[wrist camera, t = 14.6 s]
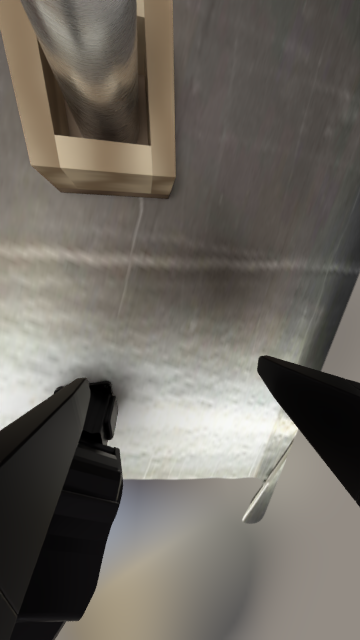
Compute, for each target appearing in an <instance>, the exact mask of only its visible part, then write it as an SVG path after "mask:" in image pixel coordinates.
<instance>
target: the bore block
mask: <svg viewBox="0 0 360 640" xmlns="http://www.w3.org/2000/svg"><path fill="white" fill-rule="evenodd" d="M0 29H1V33H2V38H3V42H4V47H5V51H6V56H7V60H8V65H9V69H10V74H11V78H12V83H13V87H14V91H15V96H16V100H17V105H18V109H19V114H20V118H21V123H22V127H23V132H24V136H25V141H26V145H27V150H28V154H29V159H30V163H31V166H32V167H33V168H35V169H36V170H37V171H38V172H39V173H40V174H41V175H42V176H43V177H45V178H46V179H47V180H48V181H49V182H50V183H51V184H52V185H53V186H55V187H56V188H57V189H58V190H59V191H60V192H65V193H82V194H98V195H115V196H132V197H148V198H165V199H168V197H169V195H170V192H171V189H172V186H173V183H174V181H175V178H176V170H175V113H174V57H173V0H137V51H138V110H139V135H138V140H137V143H136V144H129V143H121V142H112V141H103V140H95V139H86V138H83V137H82V135H81V133H80V131H79V129H78V127H77V124H76V122H75V120H74V118H73V116H72V113H71V111H70V109H69V107H68V105H67V102H66V100H65V98H64V96H63V94H62V91H61V89H60V87H59V85H58V83H57V80H56V78H55V76H54V74H53V72H52V69H51V67H50V65H49V63H48V61H47V58H46V56H45V54H44V52H43V50H42V47H41V45H40V43H39V41H38V39H37V36H36V34H35V32H34V30H33V28H32V25H31V23H30V21H29V19H28V17H27V14H26V12H25V10H24V8H23V6H22V3H21V1H20V0H0Z"/></svg>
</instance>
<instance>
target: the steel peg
mask: <svg viewBox="0 0 360 640" xmlns="http://www.w3.org/2000/svg"><path fill="white" fill-rule="evenodd" d="M20 1H21V3H22V6H23V8H24V10H25V12H26V14H27V17H28V19H29V21H30V23H31V25H32V28H33V30H34V32H35V34H36V36H37V39H38V41H39V43H40V45H41V47H42V50H43V52H44V54H45V56H46V58H47V61H48V63H49V65H50V67H51V69H52V72H53V74H54V76H55V78H56V80H57V83H58V85H59V87H60V89H61V91H62V94H63V96H64V98H65V100H66V102H67V105H68V107H69V109H70V111H71V113H72V116H73V118H74V120H75V122H76V124H77V127H78V129H79V131H80V133H81V135H82V137H83V138H86V139H95V140H103V141H112V142H121V143H129V144H136V143H137V140H138V135H139V110H138V51H137V0H20Z"/></svg>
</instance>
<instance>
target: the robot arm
mask: <svg viewBox="0 0 360 640" xmlns="http://www.w3.org/2000/svg"><path fill="white" fill-rule="evenodd" d="M257 371H258V374H259V375H260V377H261V378H262V380H263V381H264V383H265V384H266V386H267V388H268V389H269V391H270V392H271V394H272V395H273V397H274V398H275V399H276V401H277V402H278V403H279V405H280V406H281V407H282V408H283V410H284V411H285V412H286V413H287V415H288V416H289V417H290V419H291V420H292V421H293V422H294V424H295V425H296V426H297V427H298V429H299V430H300V431H301V433H302V434H303V435H304V436H305V437H306V439H307V440H308V441H309V443H310V444H311V445H312V446H313V448H314V449H315V450H316V452H317V453H318V454H319V456H320V457H321V458H322V459H323V461H324V462H325V463H326V464H327V466H328V467H329V468H330V469H331V471H332V472H333V473H334V474H335V476H336V477H337V478H338V480H339V481H340V482H341V484H342V485H343V486H344V487H345V489H346V490H347V491H348V492H349V494H350V495H351V496H352V498H353V499H354V500H355V501H356V503H357V504H358V505H359V506H360V383H358V382H355V381H351V380H347V379H344V378H341V377H338V376H334V375H331V374H328V373H324V372H321V371H318V370H314V369H311V368H308V367H304V366H301V365H298V364H294V363H291V362H288V361H284V360H281V359H277V358H274V357H271V356H267V355H266V356H260V357H259V360H258V367H257ZM105 385H108V386H105ZM117 414H118V408H117V401H116V397H115V396H114V395H113V392H112V386H111V383H110V382H109V381H105V382H97V383H90V384H89V383H88V380H87V378H78V379H76V380H74V381H73V382H71V383H70V384H68V385H67V386H65V387H59V388H57V389H56V390H55V392H54V395H52V396H51V397H49V398H48V399H46V400H45V401H43V402H42V403H40V404H39V405H37V406H36V407H34V408H33V409H31V410H30V411H29V412H27V413H26V414H24V415H23V416H21V417H20V418H18V419H17V420H15V421H14V422H12V423H11V424H9V425H8V426H6V427H5V428H3V429H2V430H1V431H0V640H55V638H56V637H57V635H58V634H59V632H60V630H61V629H62V627H63V626H64V624H65V622H66V621H79V620H80V619H81V617H82V616H83V614H84V612H85V610H86V608H87V606H88V604H89V602H90V600H91V598H92V596H93V594H94V592H95V589H96V586H97V581H98V577H99V572H100V568H101V563H102V558H103V554H104V550H105V545H106V541H107V538H108V534H109V532H110V528H111V525H112V523H113V521H114V519H115V516H116V514H117V511H118V508H119V504H120V500H121V496H122V489H123V477H122V468H121V459H120V450H119V448H116V447H114V448H112V447H109V446H107V442H108V440H111V439H112V438H113V436H114V430H115V425H116V419H117Z"/></svg>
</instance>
